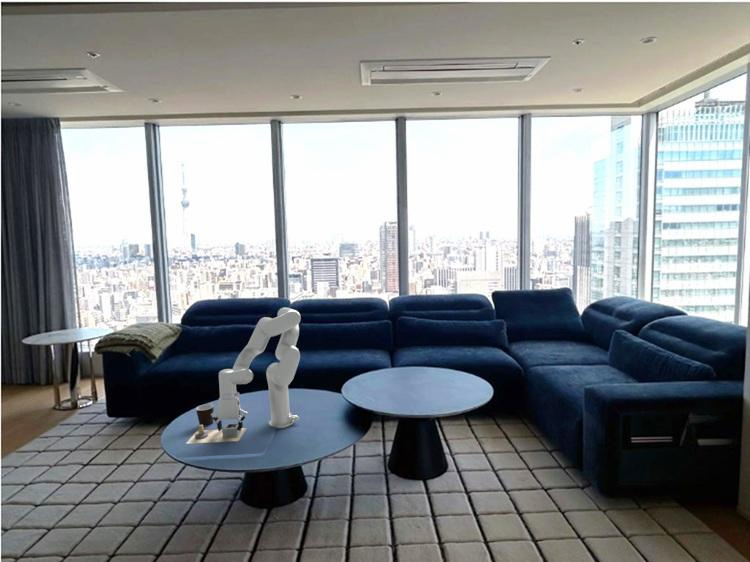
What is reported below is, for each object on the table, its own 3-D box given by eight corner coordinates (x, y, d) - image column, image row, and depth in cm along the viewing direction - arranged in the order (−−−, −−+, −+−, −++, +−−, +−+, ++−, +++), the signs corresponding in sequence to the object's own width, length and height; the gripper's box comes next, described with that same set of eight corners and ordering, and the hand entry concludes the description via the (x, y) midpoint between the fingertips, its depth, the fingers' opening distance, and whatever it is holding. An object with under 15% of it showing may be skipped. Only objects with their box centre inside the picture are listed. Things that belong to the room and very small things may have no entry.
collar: (241, 431, 227) (241, 422, 226) (237, 437, 220) (236, 428, 219) (227, 432, 227) (226, 423, 226) (223, 438, 220) (222, 429, 220)
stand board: (247, 430, 231) (245, 417, 230) (238, 443, 217) (237, 429, 216) (197, 433, 231) (195, 420, 230) (185, 446, 217) (184, 432, 216)
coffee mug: (209, 429, 234) (207, 410, 233) (194, 429, 236) (192, 410, 235) (221, 420, 245) (219, 402, 244) (206, 419, 247) (205, 401, 246)
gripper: (248, 392, 225) (250, 426, 226) (212, 393, 225) (214, 427, 226) (244, 397, 217) (245, 432, 219) (207, 398, 217) (209, 433, 219)
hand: (230, 429), depth 223 cm, fingers open, 9 cm apart
